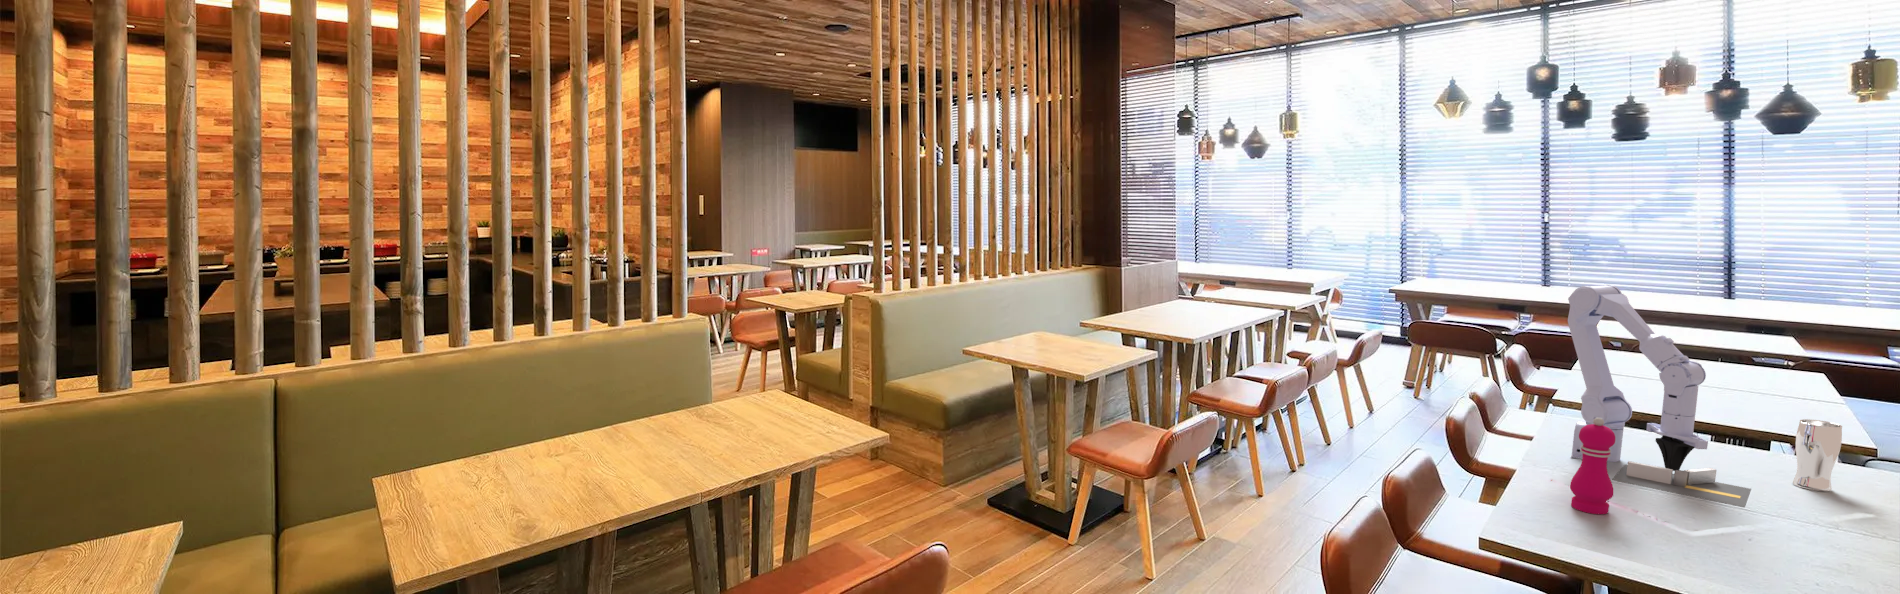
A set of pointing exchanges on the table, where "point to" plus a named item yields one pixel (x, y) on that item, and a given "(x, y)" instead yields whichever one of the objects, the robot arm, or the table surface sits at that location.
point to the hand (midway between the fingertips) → (1672, 469)
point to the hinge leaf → (1701, 476)
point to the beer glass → (1816, 453)
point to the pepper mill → (1593, 470)
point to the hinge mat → (1690, 491)
